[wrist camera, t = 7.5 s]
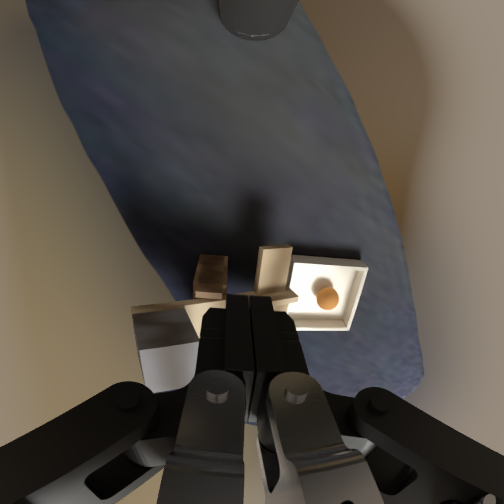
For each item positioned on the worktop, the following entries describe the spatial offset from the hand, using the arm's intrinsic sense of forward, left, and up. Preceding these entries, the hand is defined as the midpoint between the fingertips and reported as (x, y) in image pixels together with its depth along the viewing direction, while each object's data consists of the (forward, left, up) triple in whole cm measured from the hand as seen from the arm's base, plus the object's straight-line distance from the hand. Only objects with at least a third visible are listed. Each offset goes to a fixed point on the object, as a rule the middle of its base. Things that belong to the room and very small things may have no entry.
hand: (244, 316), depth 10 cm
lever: (+13, -1, -21) cm, 25 cm away
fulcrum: (+16, -2, -31) cm, 35 cm away
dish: (+16, +15, -31) cm, 37 cm away
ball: (+16, +16, -30) cm, 37 cm away
